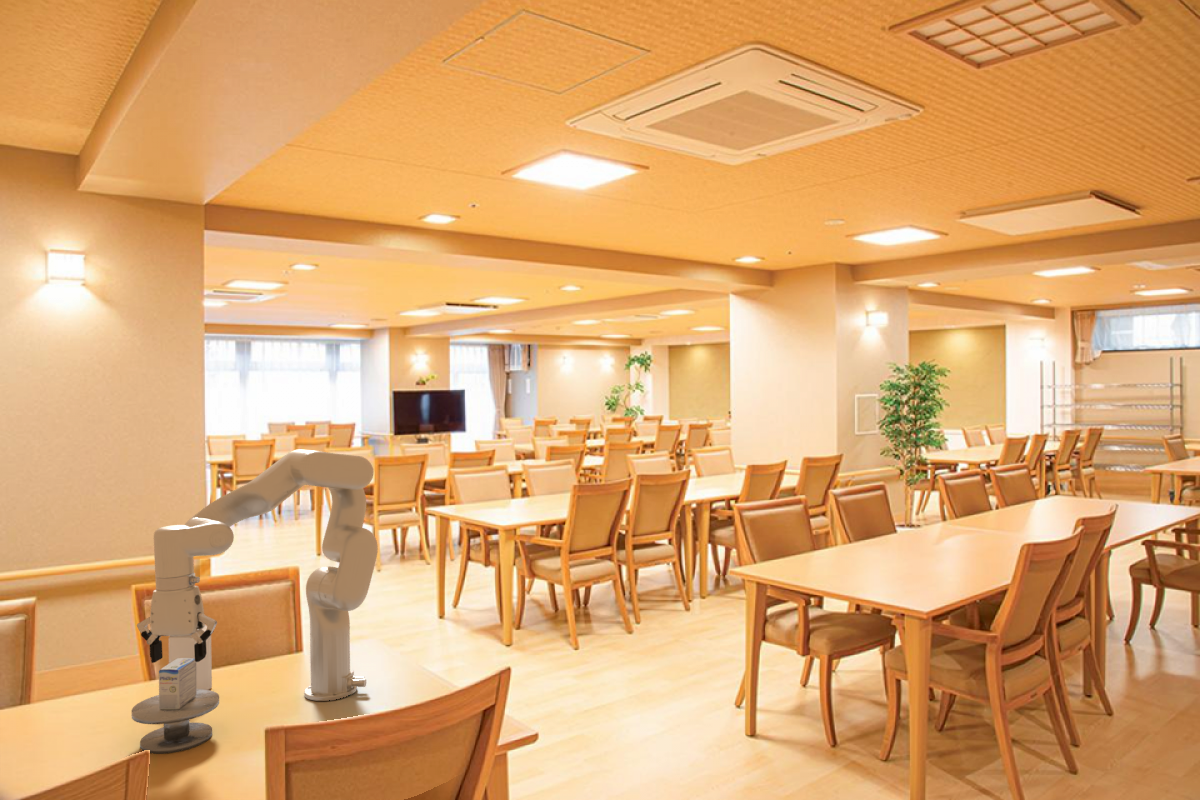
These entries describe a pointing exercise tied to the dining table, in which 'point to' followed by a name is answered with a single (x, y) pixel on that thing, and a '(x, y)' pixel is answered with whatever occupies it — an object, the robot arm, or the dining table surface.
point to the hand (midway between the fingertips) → (178, 660)
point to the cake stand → (175, 723)
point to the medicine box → (177, 683)
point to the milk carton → (185, 649)
